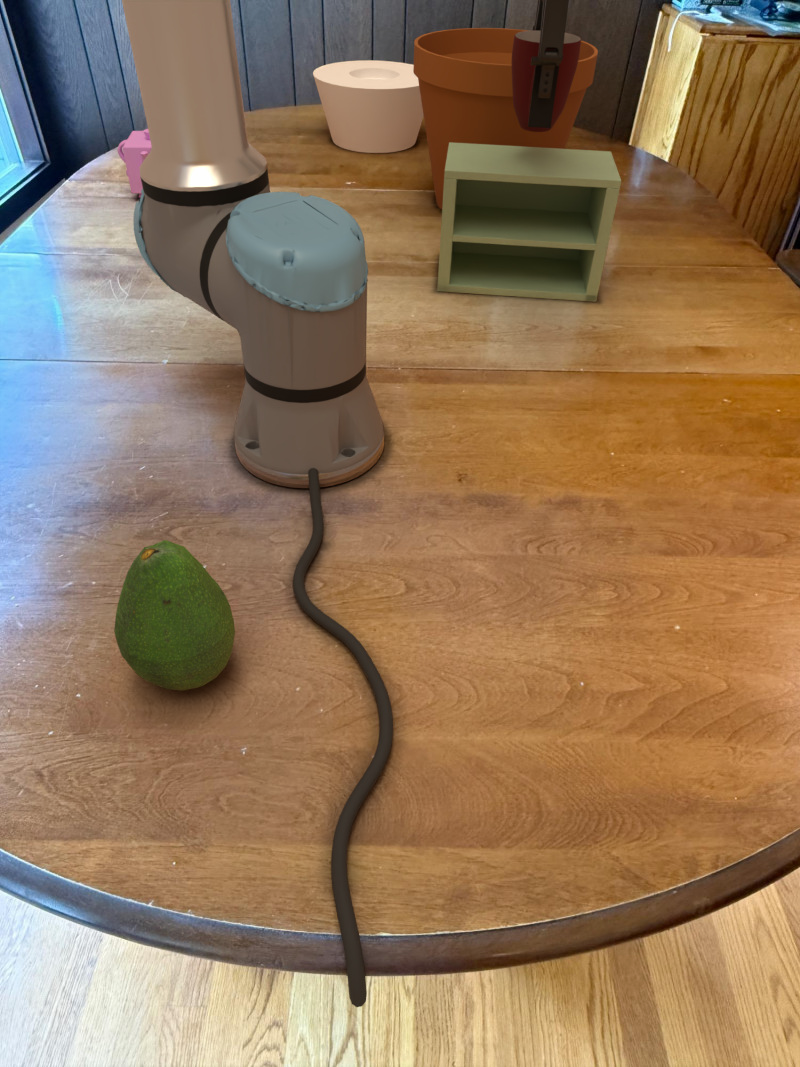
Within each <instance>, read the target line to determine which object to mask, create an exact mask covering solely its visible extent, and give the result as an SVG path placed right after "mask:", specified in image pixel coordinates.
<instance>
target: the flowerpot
mask: <svg viewBox="0 0 800 1067" xmlns="http://www.w3.org/2000/svg"><path fill="white" fill-rule="evenodd" d="M523 31H530V30H528V29H516V28H502V27H501V28H499V27H498V28H497V27H469V28H468V27H467V28H452V29H444V30H437V31H431V32H428V33H424V34H421V35H419V36H417V37H416V38H415V39H414V42H413V44H414V45H413V65H414V69H413V73H414V74H415V75H416V77H418V81H419V88H420V95H421V102H422V108H423V115H424V116H423V121H424V128H425V136H426V141H427V147H428V154H429V162H430V166H431V167H430V169H431V174H432V176H431V177H432V181H433V189H434V196H435V202H436V203H435V204H436V205H437V207H438V208H439V209H440V210H442V205H443V189H444V173H445V165H446V159H447V153H448V146H449V142H452V143H469V144H487V145H505V146H522V147H540V148H558V149H566V146H567V144H568V141H569V138H570V136H571V132H572V130H573V127H574V124H575V121H576V119H577V116H578V113H579V110H580V108H581V105H582V102H583V99H584V97H585V95H586V92H587V90H588V89H587V88H589V87H591V85H593V83H594V77H595V70H596V65H597V60H598V53H599V50H598V49H597V47H596V46H594V45H593V44H591V43H589V42H587V41H584V40H581V46H580V53H579V60H578V64H577V68H576V72H575V75H574V78H573V81H572V85H571V88H570V91H569V94H568V98H567V101H566V104H565V107H564V109H563V111H562V113H561V114H560V116H559V118H558V119H557V121H556V122H555V124H554V125H553V127H552V128H551V130H549V131H545V132H532V131H527V130H524V129H522V128H521V127H520V125H519V122H518V119H517V116H516V113H515V109H514V105H513V90H512V49H513V41H514V35H515V34H516V33H519V32H523Z"/></svg>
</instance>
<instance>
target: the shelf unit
mask: <svg viewBox="0 0 800 1067" xmlns="http://www.w3.org/2000/svg"><path fill="white" fill-rule="evenodd" d="M621 185H622V179H621V176H620V173H619V170H618V167H617V164H616V162H615V159H614V156H613V154H612V151H610V150H609V151H608V150H593V149H591V150H590V149H574V148H565V149H558V148H540V147H522V146H505V145H487V144H469V143H452V142H449V146H448V153H447V159H446V165H445V173H444V189H443V205H442V209H441V221H440V222H441V223H440V238H439V256H438V271H437V285H436V286H437V288H436V291H437V292H444V293H457V294H458V293H459V294H471V295H472V294H474V295H486V296H487V295H489V296H503V297H504V296H505V297H519V298H534V299H546V300H547V299H549V300H562V301H563V300H564V301H577V302H578V301H580V302H593V303H597V300H598V295H599V290H600V285H601V281H602V277H603V276H602V275H603V271H604V267H605V262H606V257H607V253H608V248H609V242H610V238H611V234H612V229H613V228H612V227H613V223H614V218H615V213H616V210H617V204H618V201H619V200H618V199H619V195H620V189H621Z"/></svg>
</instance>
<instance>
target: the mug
mask: <svg viewBox="0 0 800 1067" xmlns="http://www.w3.org/2000/svg"><path fill="white" fill-rule="evenodd" d="M581 41H582V38H581V36H578V35H576V34H573V33H569V32H565V37H564V45H563V60H562V62H561V63H560V64H559V73H558V80H557V87H556V94H555V101H554V108H553V115H552V122H551V128H552V127H553V125H554V124H555V122H556V121H557V119H558V118H559V116H560V114H561V113H562V111H563V109H564V107H565V104H566V101H567V98H568V94H569V91H570V88H571V85H572V81H573V78H574V75H575V72H576V68H577V64H578V60H579V53H580V46H581ZM539 42H540V31H533V30H529V31H523V32H519V33H516V34H515V35H514V41H513V49H512V90H513V105H514V109H515V113H516V116H517V119H518V122H519V125H520V127H521V128H522V129H524V130H527V131H532V132H545V131H549V130H551V128H539V127H528V120H529V112H530V104H531V96H532V88H533V80H534V72H535V65H531V59H532V57H538V52H539ZM545 50H550V49H545Z"/></svg>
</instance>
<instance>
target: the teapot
mask: <svg viewBox="0 0 800 1067" xmlns="http://www.w3.org/2000/svg"><path fill="white" fill-rule="evenodd" d="M151 148H152V145H151V140H150V136H149V131H148V128H145V129H143V130H132V131H131V133H130V134H129V136H128V138H127V139H123V140H122V141H121V142H120V143H119V144H118V146H117V153H118V156H119V158H120V159H121V160H122V162H123V163H124V164H125V168H126V170H125V173H126V176H127V178H128V184H129V187H130V194H138V198H140V197H141V195H142V193H141V190H142V188H143V186H142V182H141V177H140V165H141V164H142V163H143V161H144V160H145V158H146V157H147V156H148V154H149V153H150V151H151Z"/></svg>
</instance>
